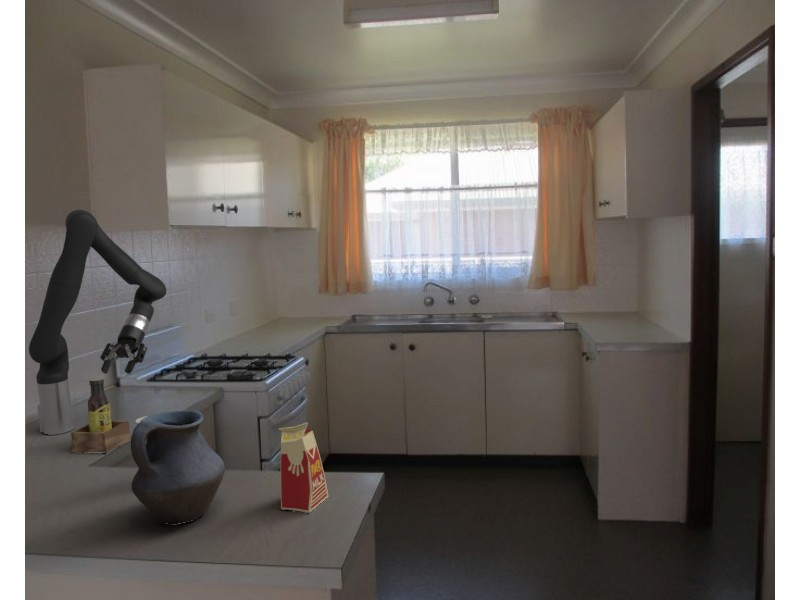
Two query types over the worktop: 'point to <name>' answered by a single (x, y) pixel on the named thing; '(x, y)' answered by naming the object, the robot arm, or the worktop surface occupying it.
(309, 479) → the milk carton
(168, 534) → the worktop surface
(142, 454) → the pitcher
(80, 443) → the open wooden box
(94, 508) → the worktop surface
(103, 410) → the sauce bottle
